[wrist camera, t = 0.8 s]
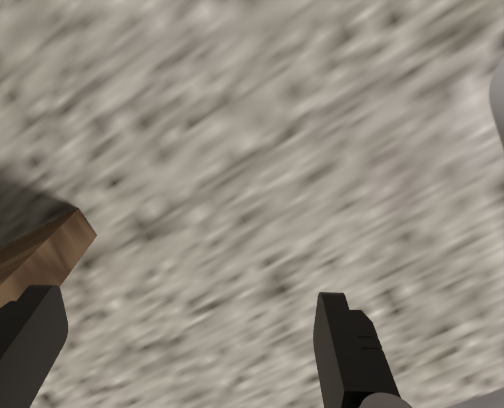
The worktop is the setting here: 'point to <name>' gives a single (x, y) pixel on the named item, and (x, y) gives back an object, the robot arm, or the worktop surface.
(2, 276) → the board
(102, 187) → the worktop surface
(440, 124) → the worktop surface
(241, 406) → the worktop surface
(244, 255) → the worktop surface
